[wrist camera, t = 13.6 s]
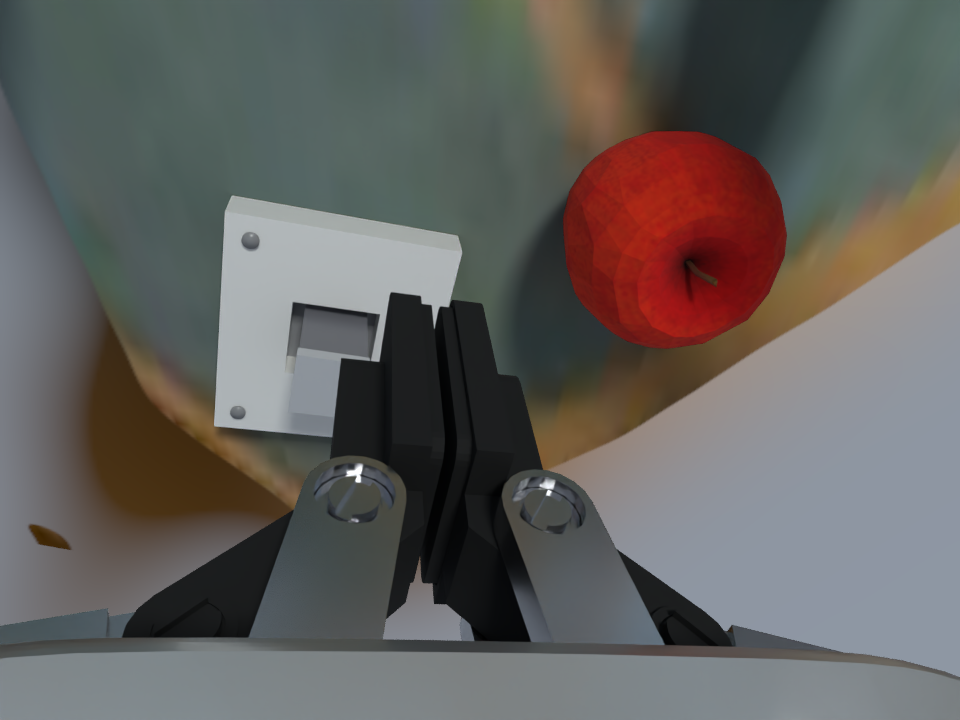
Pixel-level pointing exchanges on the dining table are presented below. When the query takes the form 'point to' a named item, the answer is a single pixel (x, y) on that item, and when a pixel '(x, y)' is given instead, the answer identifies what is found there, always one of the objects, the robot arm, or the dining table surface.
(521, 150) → the dining table surface
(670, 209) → the apple
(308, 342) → the plug
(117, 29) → the dining table surface
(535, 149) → the dining table surface
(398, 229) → the socket plate
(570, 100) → the dining table surface
